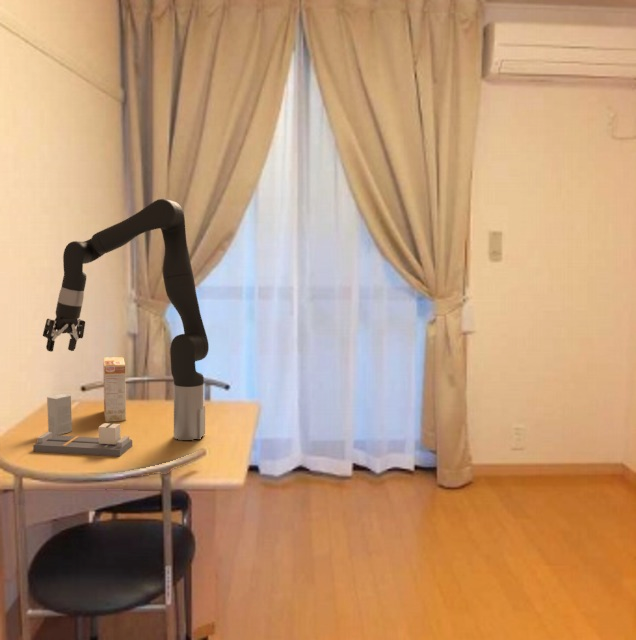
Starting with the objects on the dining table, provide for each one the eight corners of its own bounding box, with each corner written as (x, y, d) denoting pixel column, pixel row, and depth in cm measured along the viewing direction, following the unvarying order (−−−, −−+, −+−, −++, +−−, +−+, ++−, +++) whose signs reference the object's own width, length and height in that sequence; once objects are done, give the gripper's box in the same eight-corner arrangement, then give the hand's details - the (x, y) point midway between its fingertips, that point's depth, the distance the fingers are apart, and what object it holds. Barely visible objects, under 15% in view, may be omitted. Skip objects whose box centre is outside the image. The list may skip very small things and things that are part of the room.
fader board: (132, 445, 213) (132, 434, 213) (120, 456, 203) (119, 444, 203) (49, 441, 215) (49, 430, 215) (33, 451, 206) (33, 439, 205)
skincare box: (63, 429, 228) (62, 393, 227) (72, 431, 226) (71, 395, 224) (47, 434, 223) (46, 396, 221) (56, 436, 221) (55, 398, 219)
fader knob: (120, 440, 210) (120, 423, 209) (115, 444, 206) (115, 427, 205) (104, 439, 210) (104, 422, 210) (98, 443, 206) (98, 426, 206)
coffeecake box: (103, 410, 252) (103, 357, 250) (124, 409, 254) (124, 356, 252) (104, 422, 238) (103, 365, 236) (126, 420, 240) (125, 364, 238)
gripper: (59, 304, 219) (50, 354, 221) (95, 306, 232) (85, 353, 234) (44, 298, 223) (34, 347, 225) (79, 300, 235) (70, 347, 237)
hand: (60, 350), depth 229 cm, fingers open, 8 cm apart
